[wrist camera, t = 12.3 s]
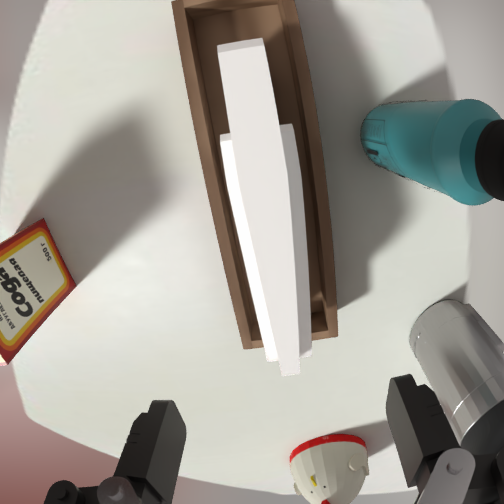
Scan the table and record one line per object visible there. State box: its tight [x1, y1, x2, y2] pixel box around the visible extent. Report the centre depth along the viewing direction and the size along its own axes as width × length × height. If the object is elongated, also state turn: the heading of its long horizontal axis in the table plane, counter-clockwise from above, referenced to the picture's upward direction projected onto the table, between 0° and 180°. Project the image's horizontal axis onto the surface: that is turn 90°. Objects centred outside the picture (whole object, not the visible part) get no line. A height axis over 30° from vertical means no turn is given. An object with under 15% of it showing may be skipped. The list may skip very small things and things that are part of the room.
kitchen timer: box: [290, 434, 369, 504], centre depth 42 cm, size 14×14×15 cm
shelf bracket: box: [217, 38, 312, 376], centre depth 27 cm, size 6×25×13 cm, turn 9°
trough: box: [171, 0, 338, 349], centre depth 28 cm, size 10×34×4 cm, turn 10°
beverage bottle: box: [360, 99, 504, 205], centre depth 19 cm, size 6×7×20 cm
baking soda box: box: [0, 218, 76, 366], centre depth 28 cm, size 10×6×16 cm
